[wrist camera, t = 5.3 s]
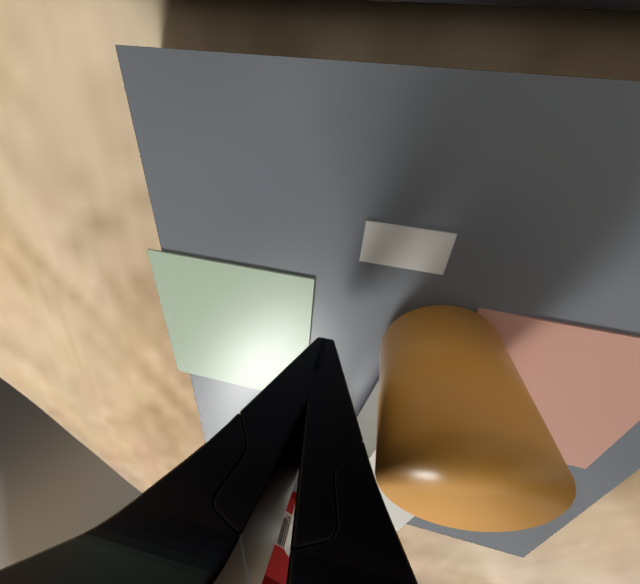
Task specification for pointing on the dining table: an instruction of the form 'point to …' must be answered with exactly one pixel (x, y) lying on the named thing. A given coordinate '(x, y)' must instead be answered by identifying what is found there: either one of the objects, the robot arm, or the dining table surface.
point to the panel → (399, 231)
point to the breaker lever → (458, 429)
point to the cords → (545, 3)
